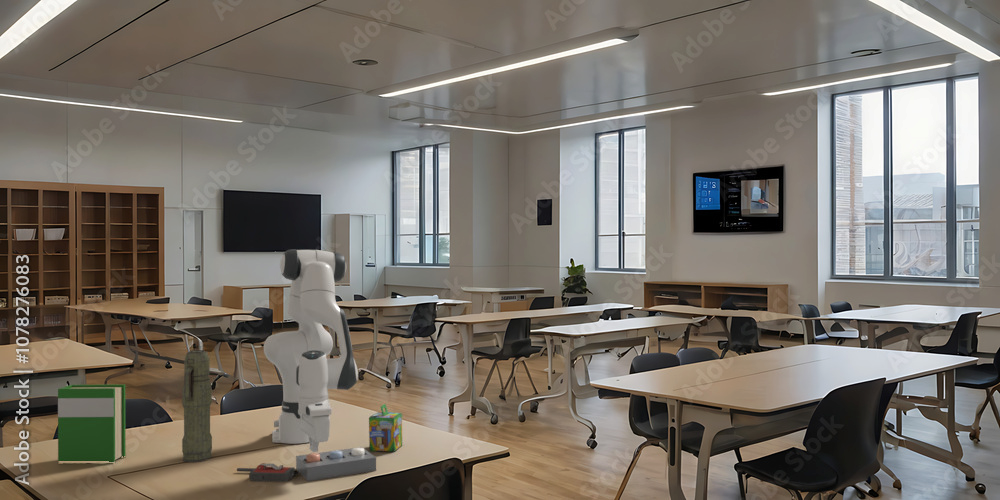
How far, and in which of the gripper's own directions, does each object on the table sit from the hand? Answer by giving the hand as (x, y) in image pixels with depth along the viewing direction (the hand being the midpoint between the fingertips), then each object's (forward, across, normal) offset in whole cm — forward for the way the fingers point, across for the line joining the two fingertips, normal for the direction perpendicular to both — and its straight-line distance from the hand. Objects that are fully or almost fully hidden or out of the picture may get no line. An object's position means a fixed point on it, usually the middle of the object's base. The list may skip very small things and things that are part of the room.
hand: (314, 450), depth 220 cm
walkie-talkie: (+7, -4, -14) cm, 16 cm away
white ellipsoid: (+4, 0, +14) cm, 15 cm away
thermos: (+7, -35, -29) cm, 46 cm away
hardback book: (+7, -50, -59) cm, 77 cm away
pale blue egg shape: (+4, 0, +7) cm, 8 cm away
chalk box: (+7, -16, +29) cm, 34 cm away
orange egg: (+4, 0, 0) cm, 4 cm away
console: (+7, 0, +7) cm, 10 cm away
